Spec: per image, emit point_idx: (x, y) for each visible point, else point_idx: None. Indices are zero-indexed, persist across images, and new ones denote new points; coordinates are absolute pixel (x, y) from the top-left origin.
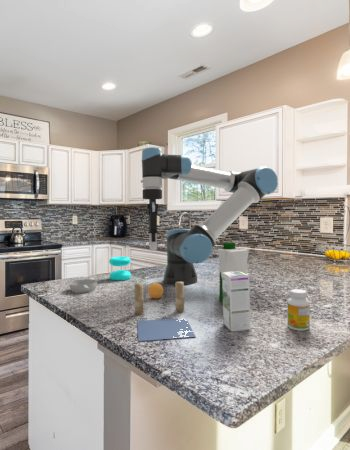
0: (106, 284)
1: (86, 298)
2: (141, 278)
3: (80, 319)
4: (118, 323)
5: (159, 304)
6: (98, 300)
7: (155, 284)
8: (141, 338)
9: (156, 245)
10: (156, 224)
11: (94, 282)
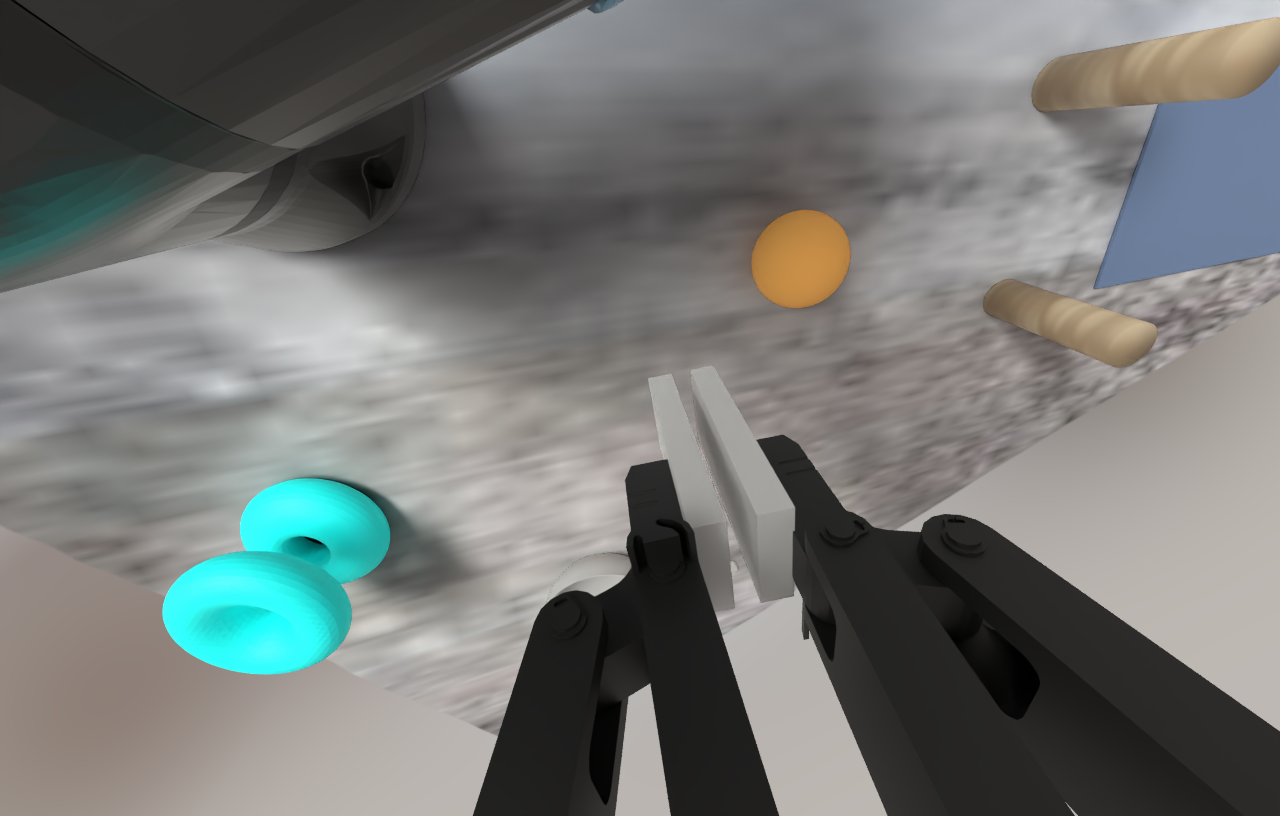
0: (485, 541)
1: (732, 536)
2: (275, 412)
3: (978, 475)
4: (1076, 352)
5: (898, 217)
6: None
7: (837, 269)
8: (1274, 243)
9: (728, 397)
10: (1160, 660)
11: (557, 584)
